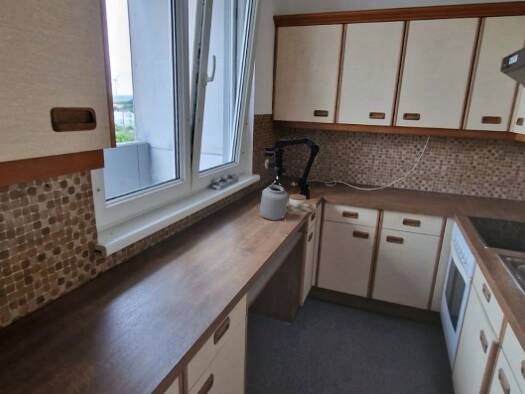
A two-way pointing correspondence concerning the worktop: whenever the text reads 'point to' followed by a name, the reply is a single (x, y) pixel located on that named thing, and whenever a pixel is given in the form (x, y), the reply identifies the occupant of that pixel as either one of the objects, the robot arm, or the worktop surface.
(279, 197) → the jar
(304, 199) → the lidded jar
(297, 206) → the board
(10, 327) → the worktop surface
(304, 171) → the robot arm
